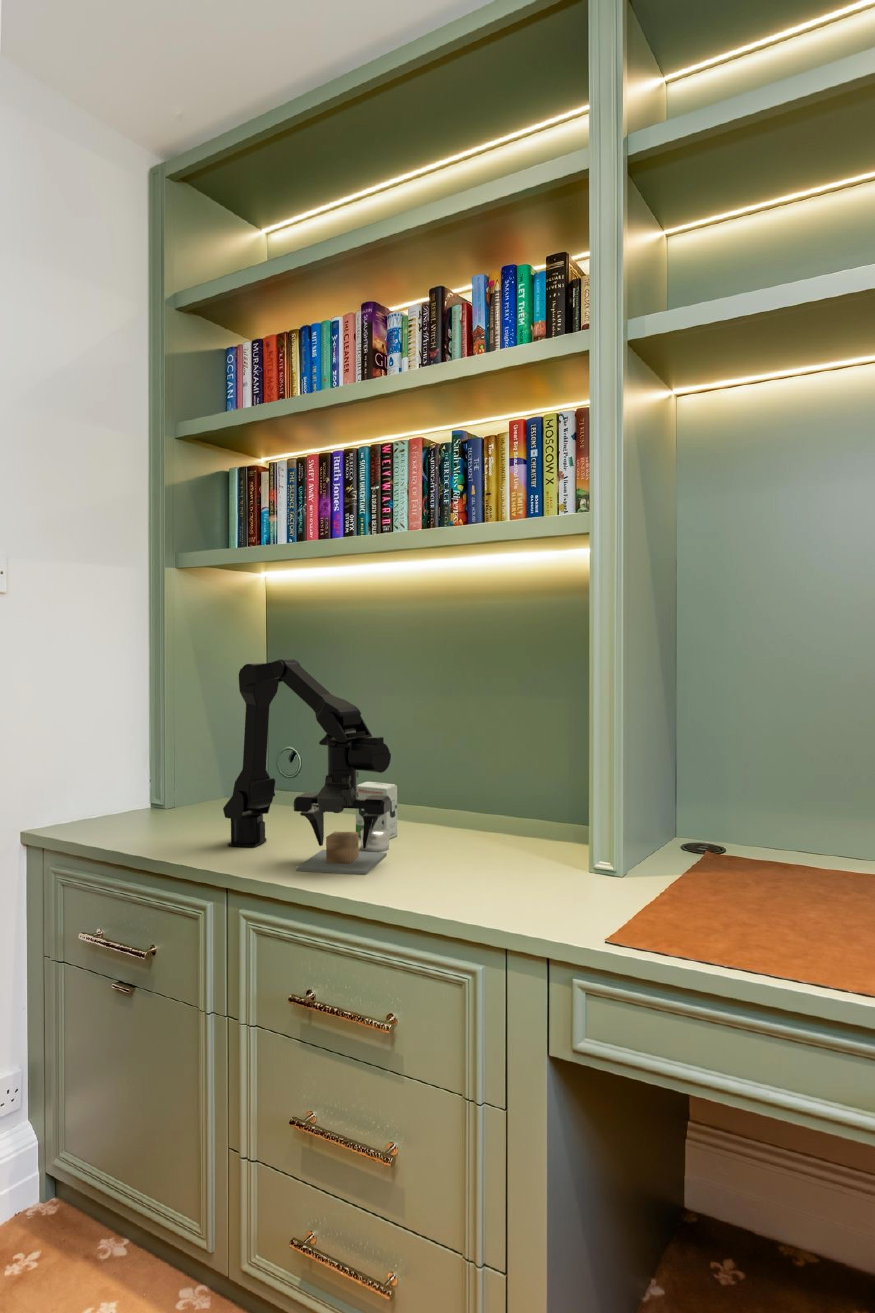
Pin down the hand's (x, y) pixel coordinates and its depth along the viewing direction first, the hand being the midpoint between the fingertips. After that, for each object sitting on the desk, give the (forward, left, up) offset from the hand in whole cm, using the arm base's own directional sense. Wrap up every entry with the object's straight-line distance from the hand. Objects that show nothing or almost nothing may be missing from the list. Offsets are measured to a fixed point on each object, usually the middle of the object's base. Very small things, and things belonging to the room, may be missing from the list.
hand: (342, 846), depth 159 cm
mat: (0, 0, -3) cm, 3 cm away
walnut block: (0, 0, -3) cm, 3 cm away
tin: (+3, +12, -3) cm, 13 cm away
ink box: (0, +23, -4) cm, 23 cm away
